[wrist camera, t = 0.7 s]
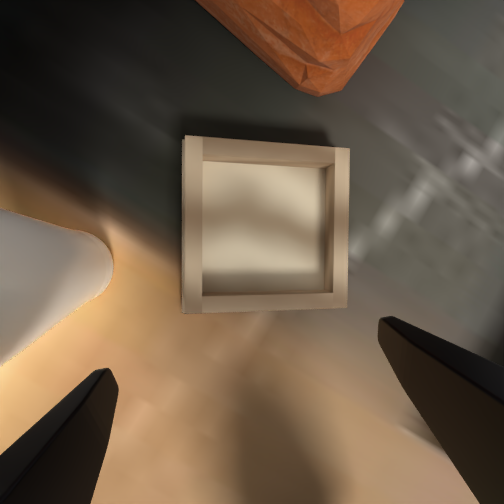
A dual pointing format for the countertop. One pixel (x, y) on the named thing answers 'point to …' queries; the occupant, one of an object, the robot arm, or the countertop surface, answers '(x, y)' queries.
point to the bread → (307, 36)
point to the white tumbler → (44, 277)
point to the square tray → (263, 226)
